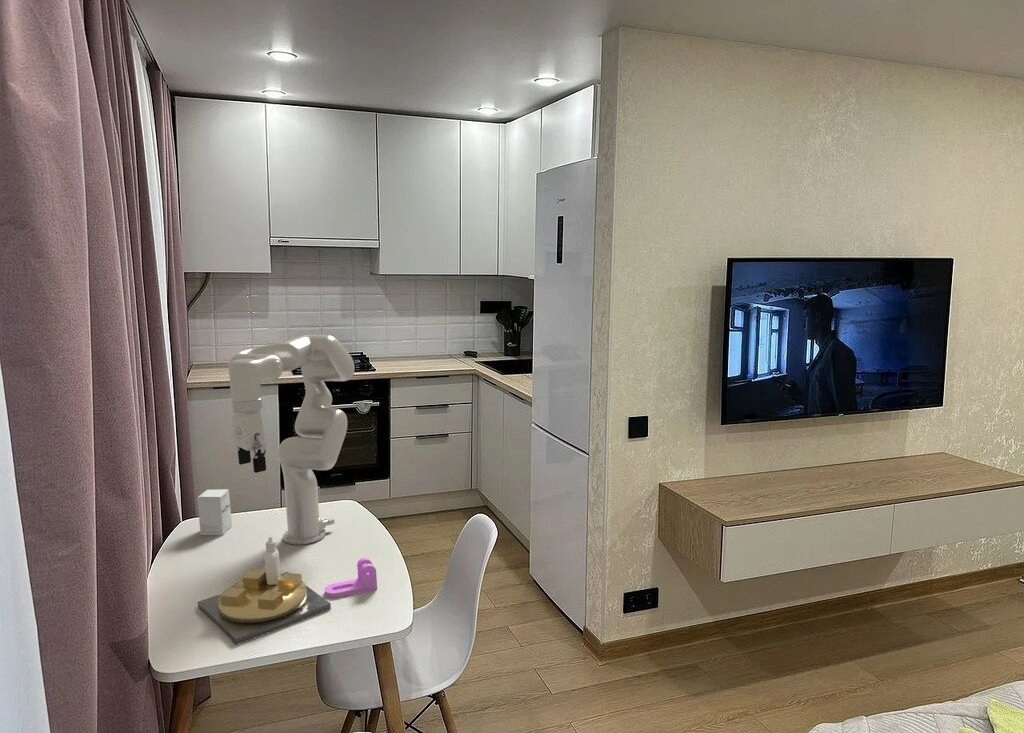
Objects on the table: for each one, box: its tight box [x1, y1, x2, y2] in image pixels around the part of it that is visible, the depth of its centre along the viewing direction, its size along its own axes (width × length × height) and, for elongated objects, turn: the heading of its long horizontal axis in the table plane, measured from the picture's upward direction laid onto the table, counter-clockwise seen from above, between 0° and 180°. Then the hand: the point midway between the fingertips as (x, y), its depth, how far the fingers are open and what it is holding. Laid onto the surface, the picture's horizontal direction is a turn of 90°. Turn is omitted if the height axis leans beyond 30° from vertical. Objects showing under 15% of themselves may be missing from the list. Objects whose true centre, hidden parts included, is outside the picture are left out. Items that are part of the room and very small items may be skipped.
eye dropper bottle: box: [264, 536, 281, 585], centre depth 194 cm, size 4×6×12 cm
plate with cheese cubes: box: [218, 569, 307, 623], centre depth 188 cm, size 21×21×4 cm
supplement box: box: [196, 488, 233, 536], centre depth 237 cm, size 7×7×13 cm
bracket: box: [324, 557, 378, 599], centre depth 197 cm, size 13×6×7 cm, turn 114°
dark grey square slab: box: [197, 571, 332, 645], centre depth 189 cm, size 24×24×2 cm
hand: (252, 467), depth 203 cm, fingers open, 9 cm apart
